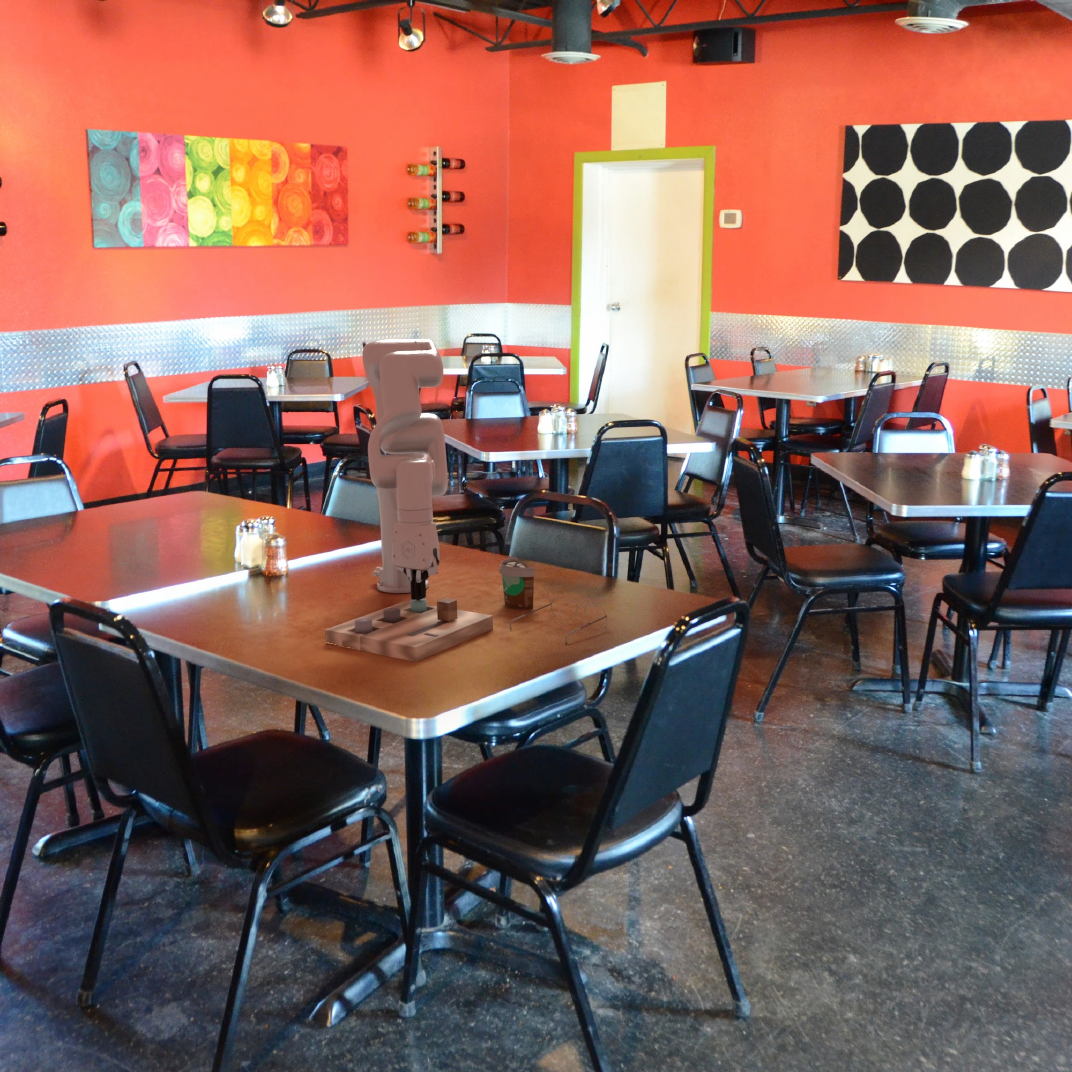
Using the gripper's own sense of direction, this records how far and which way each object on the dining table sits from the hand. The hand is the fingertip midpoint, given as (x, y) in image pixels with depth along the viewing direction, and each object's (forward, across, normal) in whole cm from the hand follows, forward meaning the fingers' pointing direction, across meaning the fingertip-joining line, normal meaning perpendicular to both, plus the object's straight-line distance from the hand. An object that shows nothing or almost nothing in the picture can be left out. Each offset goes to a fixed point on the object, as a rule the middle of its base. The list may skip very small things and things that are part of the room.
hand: (418, 598), depth 254 cm
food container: (+6, +10, +22) cm, 25 cm away
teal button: (+3, 0, 0) cm, 4 cm away
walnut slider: (+3, +11, -4) cm, 12 cm away
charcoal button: (+4, 0, -9) cm, 9 cm away
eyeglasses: (+6, +29, +12) cm, 32 cm away
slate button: (+4, 0, -18) cm, 18 cm away
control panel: (+6, +5, -9) cm, 11 cm away
